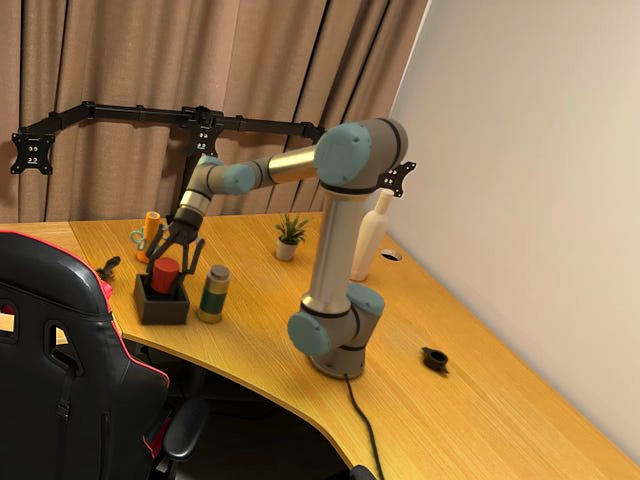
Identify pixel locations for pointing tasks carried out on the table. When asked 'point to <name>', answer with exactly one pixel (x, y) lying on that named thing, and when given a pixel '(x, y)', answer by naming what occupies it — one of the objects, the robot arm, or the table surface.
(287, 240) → the house plant
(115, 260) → the eagle figurine
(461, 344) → the table surface
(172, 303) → the bin
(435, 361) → the black flanged ring
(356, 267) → the bottle
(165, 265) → the cap
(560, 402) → the table surface
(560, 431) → the table surface
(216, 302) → the spray can
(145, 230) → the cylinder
